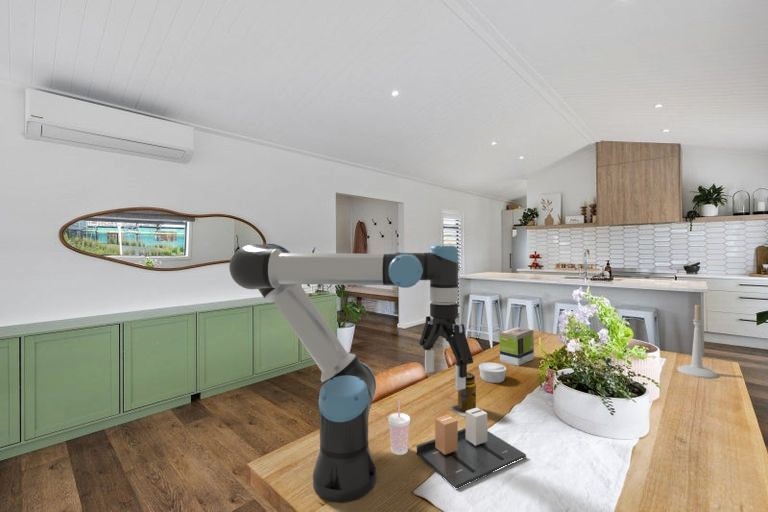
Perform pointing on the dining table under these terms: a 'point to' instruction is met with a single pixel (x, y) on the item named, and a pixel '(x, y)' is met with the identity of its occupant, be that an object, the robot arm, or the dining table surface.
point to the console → (469, 458)
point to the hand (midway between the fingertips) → (444, 380)
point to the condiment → (466, 396)
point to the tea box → (516, 345)
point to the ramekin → (492, 372)
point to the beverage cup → (399, 432)
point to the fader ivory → (476, 426)
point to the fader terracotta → (446, 434)
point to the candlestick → (697, 352)
